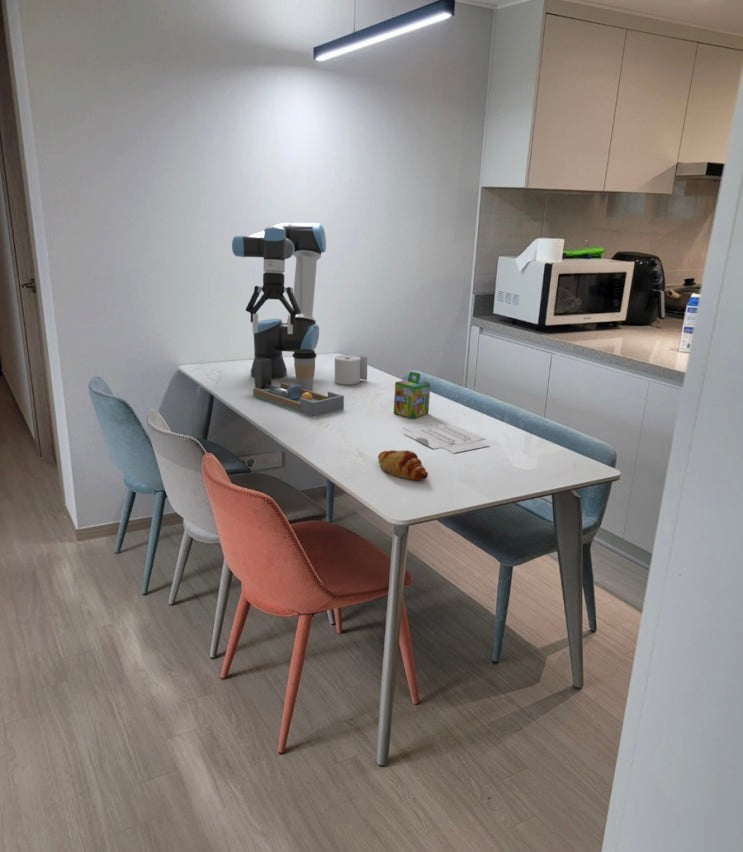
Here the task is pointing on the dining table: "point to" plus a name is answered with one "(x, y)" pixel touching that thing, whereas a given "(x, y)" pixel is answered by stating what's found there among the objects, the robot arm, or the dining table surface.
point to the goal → (322, 405)
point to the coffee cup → (304, 367)
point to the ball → (307, 396)
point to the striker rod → (264, 379)
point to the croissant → (402, 464)
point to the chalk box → (412, 397)
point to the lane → (285, 397)
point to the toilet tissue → (350, 369)
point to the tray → (445, 437)
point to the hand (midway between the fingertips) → (272, 333)
